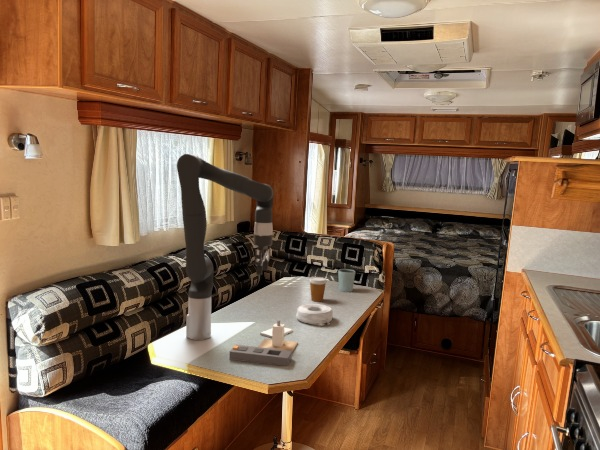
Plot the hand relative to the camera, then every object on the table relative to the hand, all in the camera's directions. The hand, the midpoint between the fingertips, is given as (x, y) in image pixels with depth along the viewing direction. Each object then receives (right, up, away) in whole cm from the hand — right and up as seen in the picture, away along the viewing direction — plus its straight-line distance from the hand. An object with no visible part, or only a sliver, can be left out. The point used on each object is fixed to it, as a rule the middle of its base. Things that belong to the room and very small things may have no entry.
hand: (262, 272), depth 189 cm
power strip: (+1, -30, -17) cm, 35 cm away
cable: (+22, -26, +31) cm, 46 cm away
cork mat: (+7, -29, -4) cm, 30 cm away
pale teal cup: (+43, -20, +88) cm, 100 cm away
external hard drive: (+5, -28, +11) cm, 30 cm away
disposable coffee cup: (+25, -22, +64) cm, 72 cm away
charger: (+7, -28, -4) cm, 30 cm away
